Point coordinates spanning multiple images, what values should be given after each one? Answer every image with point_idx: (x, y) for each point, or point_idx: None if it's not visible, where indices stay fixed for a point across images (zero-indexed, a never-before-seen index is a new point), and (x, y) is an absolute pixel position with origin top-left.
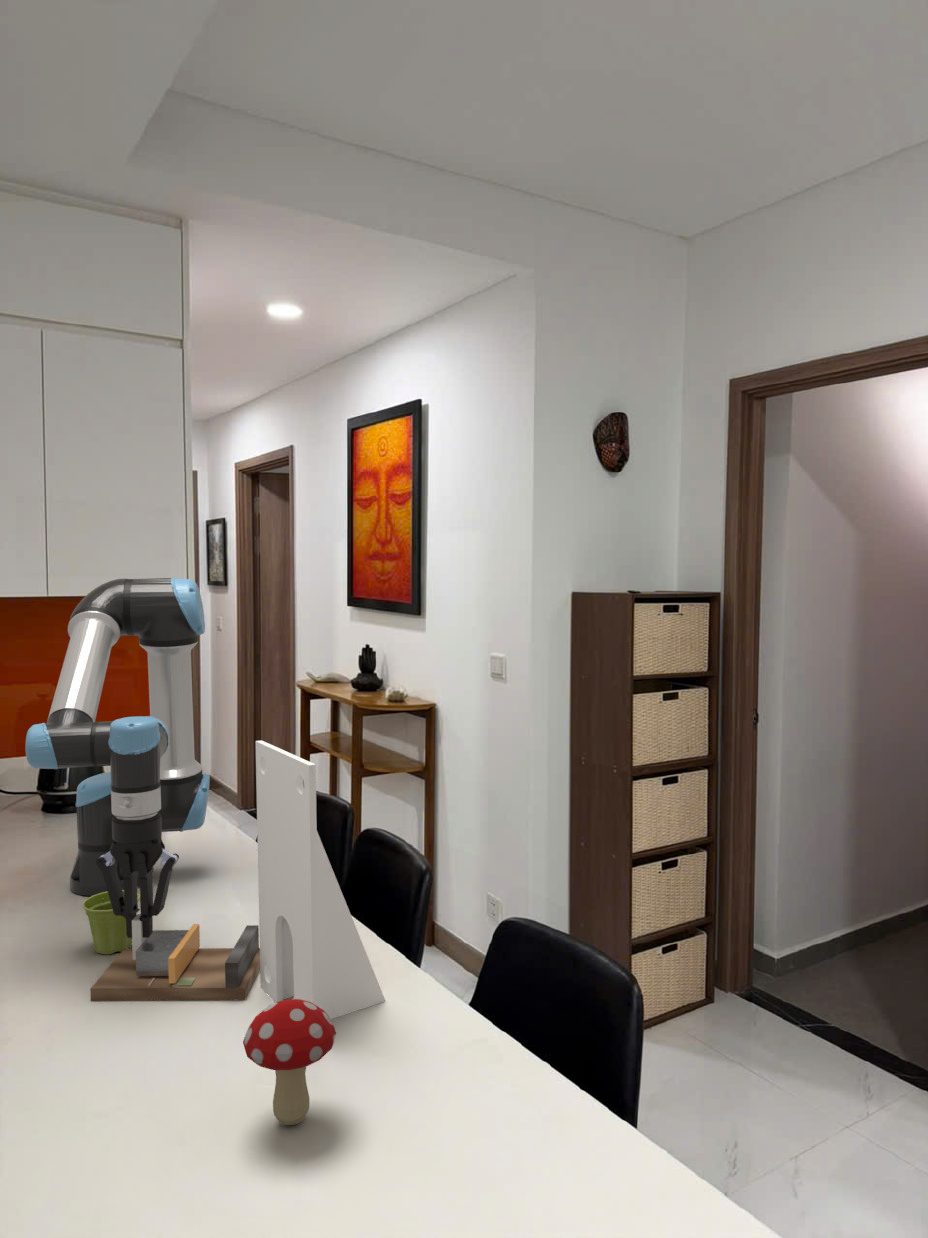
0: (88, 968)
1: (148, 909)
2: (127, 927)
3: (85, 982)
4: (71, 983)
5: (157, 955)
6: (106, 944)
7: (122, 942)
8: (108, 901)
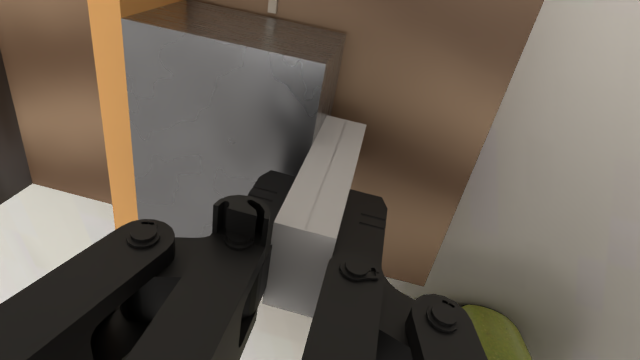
0: (543, 241)
1: (190, 272)
2: (377, 234)
3: (556, 144)
4: (612, 149)
5: (214, 31)
6: (487, 331)
7: None
8: None
